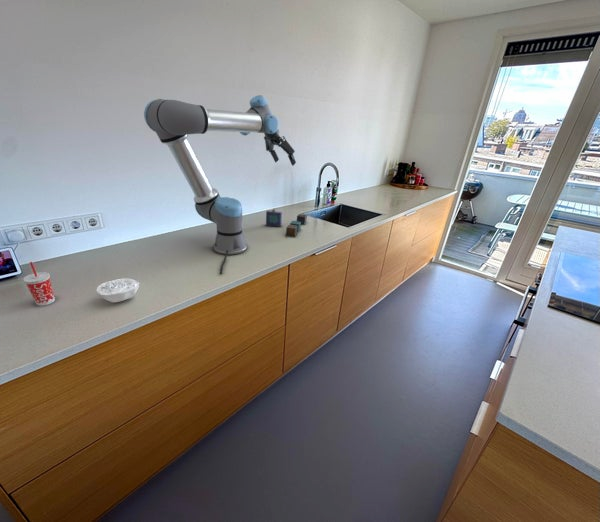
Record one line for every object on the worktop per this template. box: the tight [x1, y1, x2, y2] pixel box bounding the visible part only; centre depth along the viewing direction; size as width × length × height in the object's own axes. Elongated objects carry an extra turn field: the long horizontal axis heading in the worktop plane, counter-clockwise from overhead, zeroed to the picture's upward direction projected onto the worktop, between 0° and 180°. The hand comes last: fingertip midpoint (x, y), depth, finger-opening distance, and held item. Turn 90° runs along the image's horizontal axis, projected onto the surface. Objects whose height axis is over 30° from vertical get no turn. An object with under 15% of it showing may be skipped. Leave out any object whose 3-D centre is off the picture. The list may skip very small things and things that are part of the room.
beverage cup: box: [22, 261, 56, 307], centre depth 88 cm, size 6×6×14 cm
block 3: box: [296, 213, 308, 226], centre depth 178 cm, size 5×5×5 cm
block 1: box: [289, 220, 302, 234], centre depth 165 cm, size 5×5×5 cm
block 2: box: [285, 224, 298, 238], centre depth 158 cm, size 5×5×5 cm
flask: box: [265, 208, 283, 228], centre depth 169 cm, size 9×3×11 cm, turn 88°
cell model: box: [96, 277, 140, 304], centre depth 94 cm, size 10×12×7 cm
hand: (285, 162), depth 162 cm, fingers open, 13 cm apart
